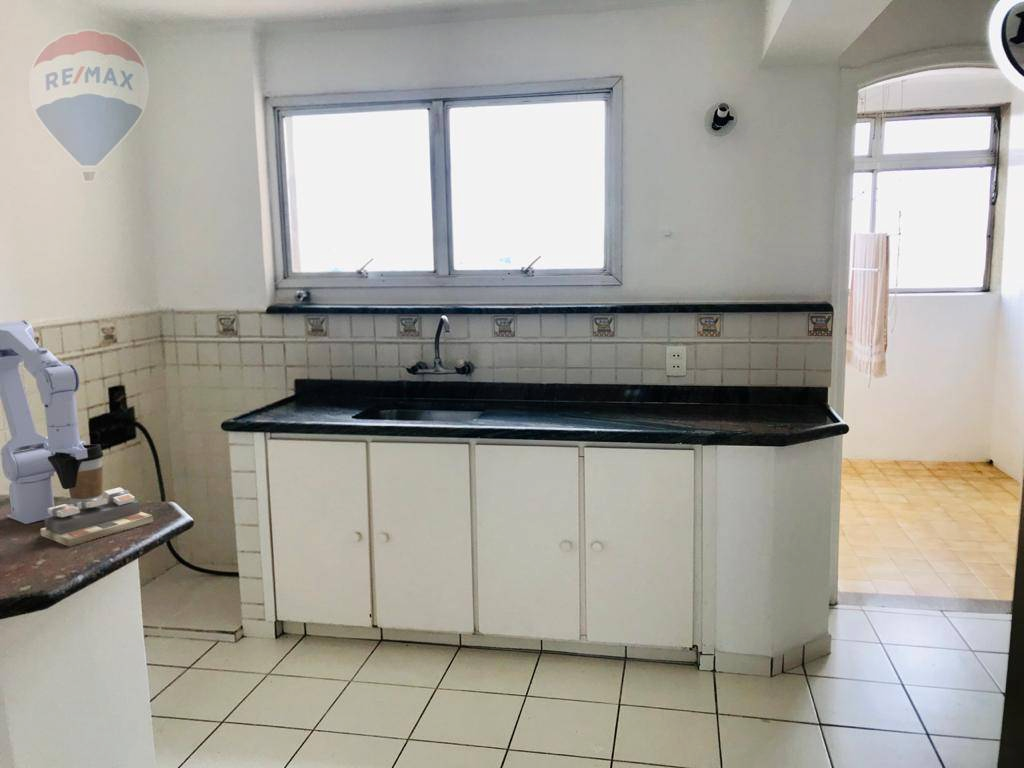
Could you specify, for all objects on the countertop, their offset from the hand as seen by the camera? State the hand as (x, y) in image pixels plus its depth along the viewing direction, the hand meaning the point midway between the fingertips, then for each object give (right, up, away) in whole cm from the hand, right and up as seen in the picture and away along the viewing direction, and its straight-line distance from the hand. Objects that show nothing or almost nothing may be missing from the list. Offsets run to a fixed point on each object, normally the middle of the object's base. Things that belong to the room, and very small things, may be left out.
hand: (69, 487), depth 172 cm
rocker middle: (+3, -4, +4) cm, 6 cm away
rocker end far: (+6, -3, +9) cm, 11 cm away
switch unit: (+4, -9, +4) cm, 11 cm away
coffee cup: (-5, -8, +17) cm, 19 cm away
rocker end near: (-1, -5, -1) cm, 5 cm away
